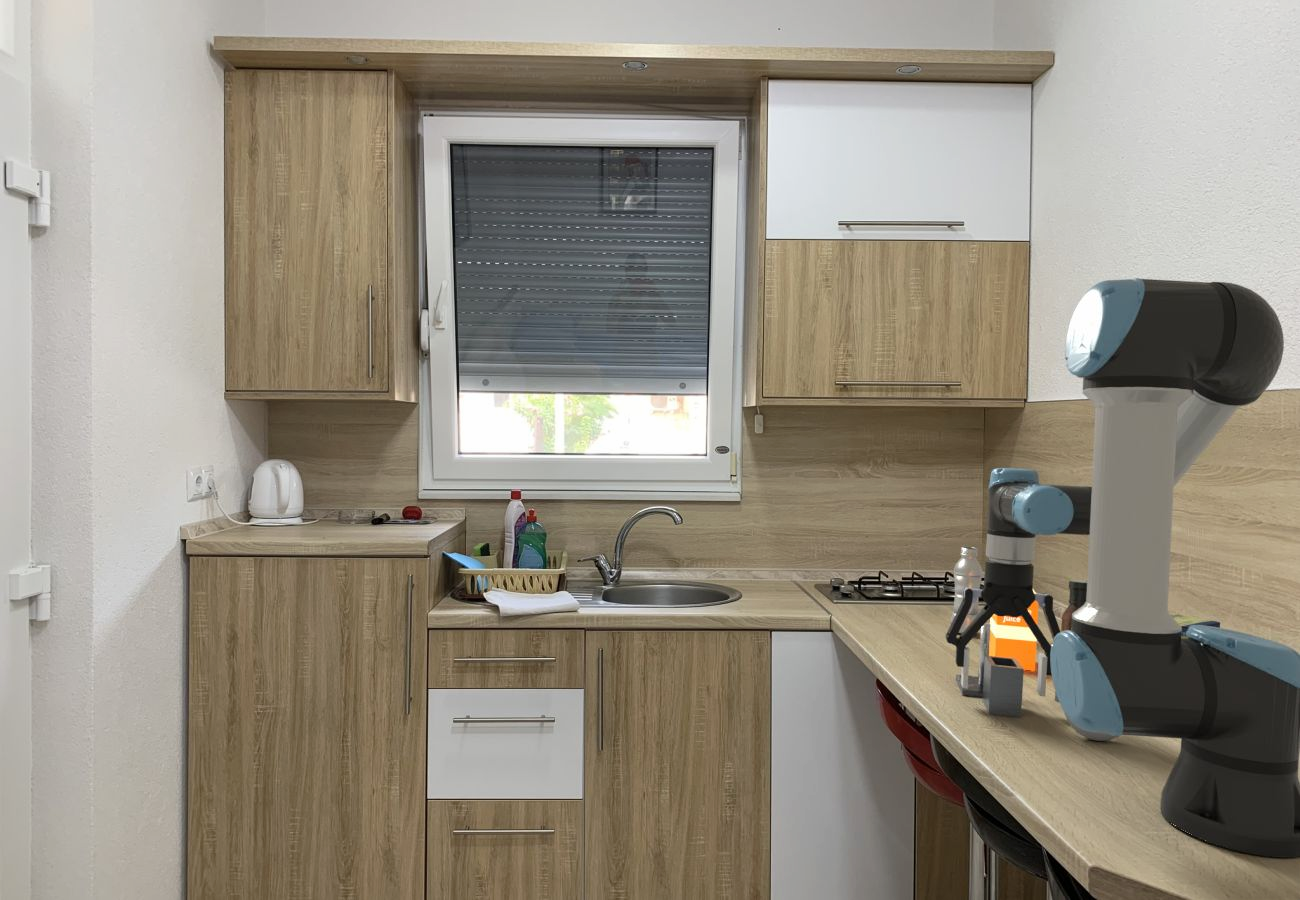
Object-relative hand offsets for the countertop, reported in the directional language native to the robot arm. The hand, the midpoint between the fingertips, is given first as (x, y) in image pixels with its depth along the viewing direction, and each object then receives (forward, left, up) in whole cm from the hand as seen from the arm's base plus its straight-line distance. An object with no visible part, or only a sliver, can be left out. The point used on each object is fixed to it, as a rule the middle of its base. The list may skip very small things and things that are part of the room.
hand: (1002, 690), depth 147 cm
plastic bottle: (+58, -1, -3) cm, 58 cm away
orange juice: (+33, -7, -3) cm, 34 cm away
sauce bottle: (+19, -16, -3) cm, 25 cm away
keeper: (+11, +1, -3) cm, 12 cm away
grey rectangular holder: (0, 0, -3) cm, 3 cm away
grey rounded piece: (-11, -12, -3) cm, 17 cm away
